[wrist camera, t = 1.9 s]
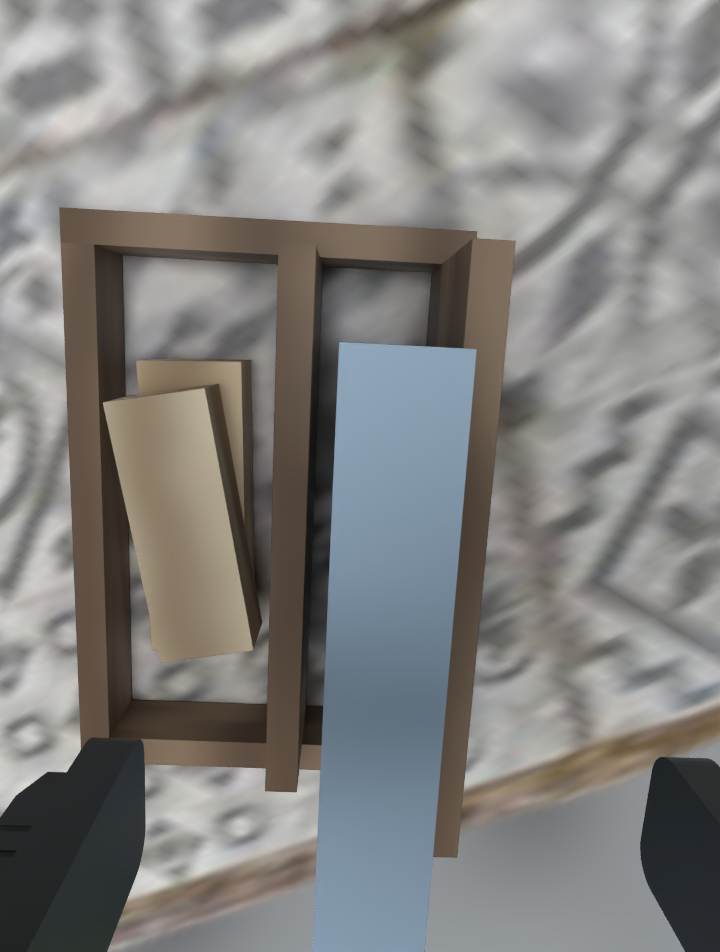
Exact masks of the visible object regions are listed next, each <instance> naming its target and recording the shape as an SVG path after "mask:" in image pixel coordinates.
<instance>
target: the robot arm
mask: <svg viewBox="0 0 720 952" xmlns="http://www.w3.org/2000/svg"><path fill="white" fill-rule="evenodd" d="M144 839H145V762H144V745H143V742H142V740H141V739H128V738H96V737H92V738H90V739H89V740H88V741H87V742H86V743H85V745H84V746H83V748H82V749H81V751H80V753H79V754H78V756H77V757H76V759H75V760H74V762H73V764H72V765H71V767H70V768H69V770H68V771H67V773H64V772H47V773H46V774H44V775H43V776H42V777H40V778H39V779H38V780H36V781H35V782H34V783H32V784H31V785H30V786H28V787H27V788H26V789H24V790H23V791H22V792H20V793H19V794H18V795H16V796H15V798H14V799H13V801H12V802H11V803H10V805H9V806H8V808H7V809H6V810H5V812H4V813H3V815H2V816H1V817H0V952H107V950H108V947H109V945H110V942H111V940H112V937H113V935H114V932H115V929H116V927H117V924H118V922H119V919H120V916H121V914H122V911H123V909H124V906H125V903H126V901H127V898H128V896H129V893H130V890H131V888H132V885H133V883H134V880H135V877H136V875H137V872H138V869H139V865H140V861H141V857H142V852H143V846H144ZM640 844H641V845H640V846H641V847H640V851H641V861H642V867H643V871H644V874H645V878H646V881H647V883H648V885H649V887H650V889H651V891H652V893H653V895H654V896H655V898H656V900H657V902H658V904H659V906H660V907H661V909H662V911H663V913H664V915H665V916H666V918H667V920H668V921H669V923H670V925H671V927H672V929H673V931H674V932H675V934H676V936H677V938H678V939H679V941H680V943H681V945H682V947H683V948H684V950H685V952H720V767H719V766H718V765H717V764H716V763H715V762H714V761H712V760H710V759H707V758H705V759H704V758H677V757H660V758H658V759H657V760H656V761H655V763H654V766H653V769H652V774H651V780H650V787H649V793H648V799H647V805H646V811H645V817H644V823H643V829H642V836H641V843H640Z"/></svg>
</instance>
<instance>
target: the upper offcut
mask: <svg viewBox="0 0 720 952" xmlns="http://www.w3.org/2000/svg"><path fill="white" fill-rule="evenodd" d="M103 406H104V411H105V415H106V420H107V424H108V429H109V433H110V438H111V442H112V447H113V451H114V456H115V461H116V465H117V470H118V474H119V479H120V483H121V488H122V492H123V497H124V501H125V506H126V511H127V515H128V520H129V524H130V529H131V533H132V538H133V542H134V547H135V551H136V556H137V561H138V565H139V570H140V574H141V579H142V583H143V588H144V592H145V597H146V601H147V606H148V611H149V615H150V620H151V624H152V629H153V633H154V638H155V642H156V647H157V651H158V656H159V661H160V663H163V662H170V661H178V660H185V659H193V658H200V657H208V656H215V655H223V654H230V653H237V652H245V651H252V650H254V647H255V643H256V640H257V637H258V634H259V631H260V627H261V624H262V619H261V614H260V608H259V603H258V597H257V591H256V586H255V580H254V575H253V569H252V564H251V558H250V553H249V547H248V542H247V536H246V531H245V525H244V520H243V514H242V509H241V503H240V498H239V492H238V487H237V481H236V476H235V470H234V465H233V459H232V454H231V448H230V443H229V437H228V432H227V426H226V421H225V415H224V409H223V404H222V398H221V393H220V387H219V384H212V385H204V386H197V387H190V388H183V389H176V390H169V391H161V392H154V393H147V394H140V395H133V396H126V397H122V398H118V399H115V400H111V401H107V402H103Z"/></svg>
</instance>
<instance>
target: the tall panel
mask: <svg viewBox="0 0 720 952" xmlns="http://www.w3.org/2000/svg"><path fill="white" fill-rule="evenodd" d="M476 351H477V349H464V348H446V347H429V346H411V345H393V344H374V343H355V342H339V359H338V381H337V404H336V427H335V450H334V473H333V496H332V519H331V542H330V564H329V587H328V610H327V633H326V656H325V679H324V702H323V724H322V747H321V770H320V793H319V816H318V839H317V862H316V885H315V908H314V930H313V952H425V944H426V932H427V920H428V909H429V897H430V886H431V873H432V861H433V851H434V839H435V827H436V816H437V804H438V793H439V781H440V769H441V758H442V746H443V734H444V723H445V711H446V699H447V688H448V676H449V665H450V653H451V641H452V630H453V618H454V606H455V595H456V583H457V572H458V560H459V548H460V537H461V525H462V513H463V502H464V490H465V479H466V467H467V455H468V444H469V432H470V420H471V409H472V397H473V386H474V374H475V362H476Z"/></svg>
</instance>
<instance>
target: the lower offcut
mask: <svg viewBox="0 0 720 952" xmlns="http://www.w3.org/2000/svg"><path fill="white" fill-rule="evenodd" d="M136 364H137V382H138V395H140V394H147V393H154V392H161V391H169V390H176V389H183V388H190V387H197V386H204V385H212V384H219V387H220V393H221V398H222V404H223V409H224V415H225V421H226V426H227V432H228V437H229V443H230V448H231V454H232V459H233V465H234V470H235V476H236V481H237V487H238V492H239V498H240V503H241V509H242V514H243V520H244V525H245V531H246V536H247V542H248V547H249V553H250V558H251V564H252V569H253V575H254V580H255V556H254V501H253V446H252V391H251V360H212V359H146V360H136ZM150 626H151V645H152V650H157V647H156V642H155V638H154V633H153V629H152V624H151V620H150Z"/></svg>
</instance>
